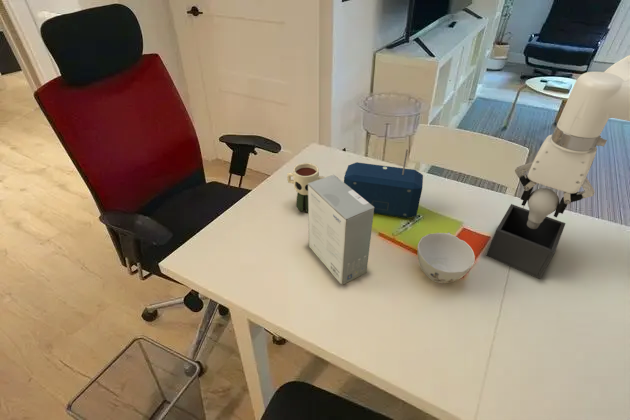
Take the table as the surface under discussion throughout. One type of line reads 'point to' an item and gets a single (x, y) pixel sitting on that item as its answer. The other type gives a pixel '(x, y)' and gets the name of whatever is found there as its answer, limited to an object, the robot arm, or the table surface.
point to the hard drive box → (339, 227)
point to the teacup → (444, 257)
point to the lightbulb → (541, 206)
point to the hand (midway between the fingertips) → (540, 207)
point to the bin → (525, 242)
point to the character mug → (303, 182)
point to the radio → (387, 187)
